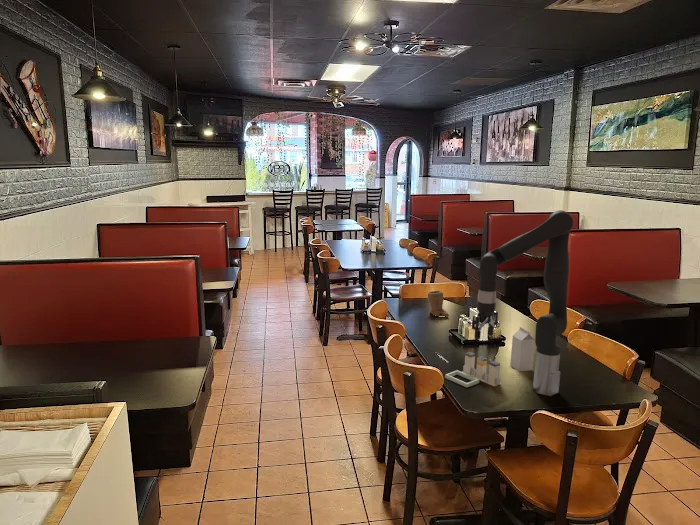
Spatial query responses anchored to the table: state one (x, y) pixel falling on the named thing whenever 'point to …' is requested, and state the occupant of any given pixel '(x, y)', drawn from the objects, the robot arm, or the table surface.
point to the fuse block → (490, 379)
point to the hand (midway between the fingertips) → (483, 336)
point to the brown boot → (437, 303)
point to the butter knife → (442, 358)
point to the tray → (473, 379)
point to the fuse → (481, 367)
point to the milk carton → (522, 350)
